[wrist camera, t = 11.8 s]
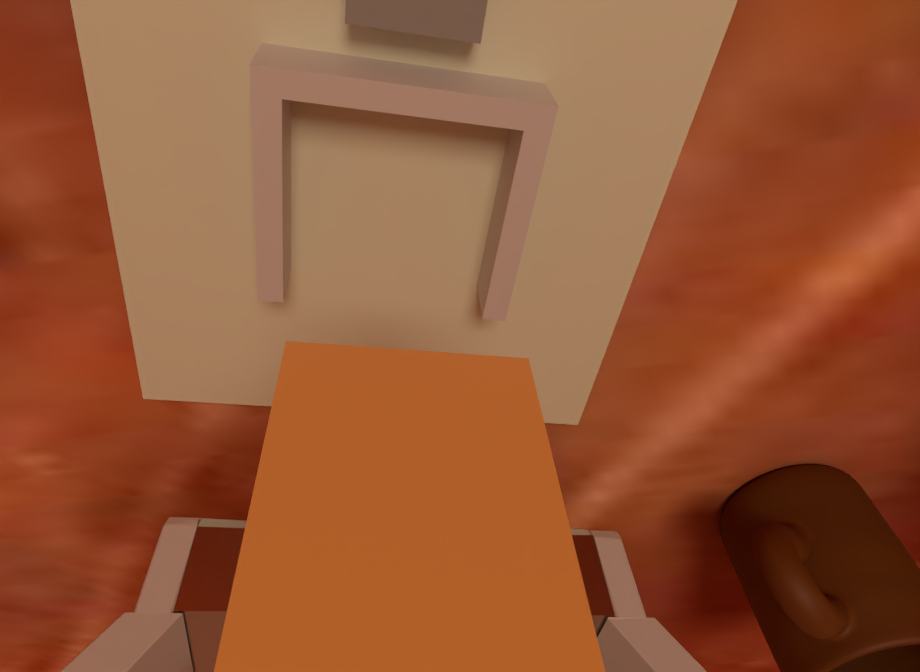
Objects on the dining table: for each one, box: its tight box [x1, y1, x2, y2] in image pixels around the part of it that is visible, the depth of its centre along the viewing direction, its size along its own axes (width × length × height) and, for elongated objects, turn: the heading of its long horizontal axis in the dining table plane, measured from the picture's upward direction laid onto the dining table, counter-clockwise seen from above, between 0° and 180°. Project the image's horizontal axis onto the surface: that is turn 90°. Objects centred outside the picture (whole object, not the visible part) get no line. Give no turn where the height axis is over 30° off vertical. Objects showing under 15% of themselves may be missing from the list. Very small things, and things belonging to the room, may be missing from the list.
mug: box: [720, 464, 920, 672], centre depth 31 cm, size 12×8×9 cm, turn 43°
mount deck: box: [70, 0, 738, 425], centre depth 21 cm, size 20×18×3 cm
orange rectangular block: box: [214, 341, 605, 672], centre depth 10 cm, size 4×4×8 cm
